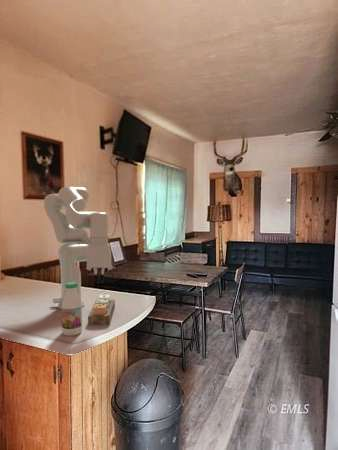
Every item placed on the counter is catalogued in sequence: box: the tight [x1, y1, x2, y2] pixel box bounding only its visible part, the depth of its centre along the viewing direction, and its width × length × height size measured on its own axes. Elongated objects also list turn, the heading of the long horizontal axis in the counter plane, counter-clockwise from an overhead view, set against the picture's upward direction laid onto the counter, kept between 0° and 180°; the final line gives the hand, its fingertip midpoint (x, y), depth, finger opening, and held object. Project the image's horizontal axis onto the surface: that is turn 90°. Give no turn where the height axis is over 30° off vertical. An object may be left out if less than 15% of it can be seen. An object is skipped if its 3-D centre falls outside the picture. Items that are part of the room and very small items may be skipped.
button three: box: [92, 303, 107, 315], centre depth 137 cm, size 5×5×5 cm
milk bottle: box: [61, 282, 83, 337], centre depth 125 cm, size 8×8×20 cm
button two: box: [95, 299, 109, 309], centre depth 144 cm, size 5×5×5 cm
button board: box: [87, 298, 116, 327], centre depth 144 cm, size 9×24×4 cm, turn 5°
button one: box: [97, 294, 111, 304], centre depth 152 cm, size 5×5×5 cm
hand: (99, 283), depth 136 cm, fingers closed
